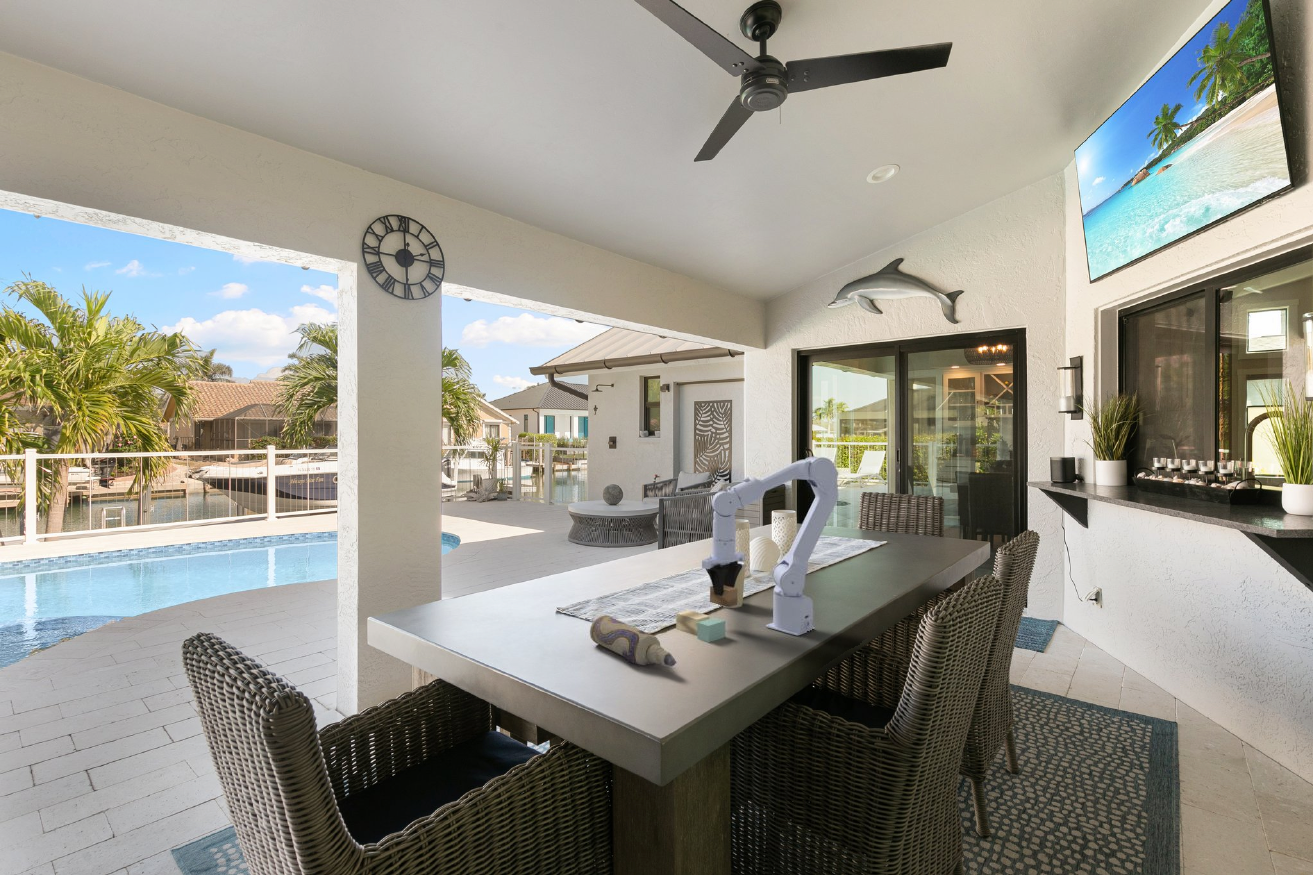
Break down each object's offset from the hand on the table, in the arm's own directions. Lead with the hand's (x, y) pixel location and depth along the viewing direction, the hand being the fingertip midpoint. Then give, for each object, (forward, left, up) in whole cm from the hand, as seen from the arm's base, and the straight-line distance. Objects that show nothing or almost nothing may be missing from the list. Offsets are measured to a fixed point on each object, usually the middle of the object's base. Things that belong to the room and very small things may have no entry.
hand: (723, 593), depth 150 cm
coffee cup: (+13, -18, -9) cm, 24 cm away
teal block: (-3, +8, -9) cm, 12 cm away
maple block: (+4, +7, -9) cm, 12 cm away
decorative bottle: (0, +31, -9) cm, 33 cm away
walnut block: (0, 0, -3) cm, 3 cm away
